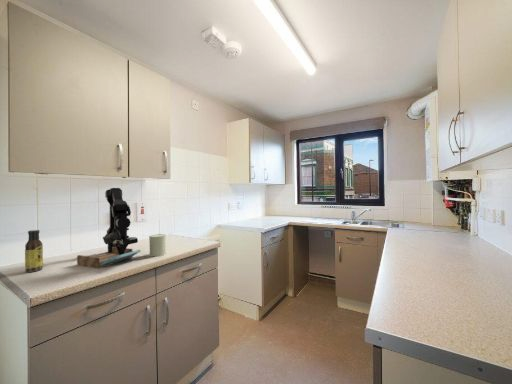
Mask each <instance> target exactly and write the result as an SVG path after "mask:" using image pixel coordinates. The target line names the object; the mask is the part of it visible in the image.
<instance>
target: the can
mask: <svg viewBox="0 0 512 384" xmlns="http://www.w3.org/2000/svg"><path fill="white" fill-rule="evenodd" d="M148 241H149V257H152V256H156V257H162V256H165V255H166V254H167V251H166V250H167V249H166V247H167V245H166V234H164V233H156V234H151V235H149V240H148ZM164 254H165V255H164ZM161 255H162V256H161Z"/></svg>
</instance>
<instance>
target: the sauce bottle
mask: <svg viewBox="0 0 512 384" xmlns="http://www.w3.org/2000/svg"><path fill="white" fill-rule="evenodd" d="M27 235H28V240H27V242H26V243H25V250H24V266H25V267H24V269H25V271H24V272H25V273H34V272H38V271H41V270H43V266H44V262H43V261H44V256H43V253H44V252H43V251H44V249H43V242H42V241H41V240H40V229H31V230H30V229H29V230H28V231H27Z"/></svg>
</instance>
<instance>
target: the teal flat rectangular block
mask: <svg viewBox="0 0 512 384" xmlns="http://www.w3.org/2000/svg"><path fill="white" fill-rule="evenodd" d="M139 253H141V249H137V250H133V252H129V253H126V254H122V255H119V256H115V257H111V258H109V259H107V260H106V261H104V262H102V263H101V264H100V265H101V266H102V265H106V264H109V263H112V262H116V261H119V260H122V259H126V258H129V257H132V256H136V255H137V254H139ZM126 260H127V259H126Z"/></svg>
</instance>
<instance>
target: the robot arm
mask: <svg viewBox="0 0 512 384" xmlns="http://www.w3.org/2000/svg"><path fill="white" fill-rule="evenodd" d="M104 196H105V198H106V201H107V202H108V204H109V227H108V228H107V230H106V234H105V235H104V236H103V237H102V239H103V243H104V244H105V245H107V251H106V252H105V253H104V254H107V253H111V252H112V247H116V248H117V250H118V253H119V255H122V254H124V252H125V250H126V248H128V246H129V245H132V244H137V243H138V242H139V241H138V240H139V239H138V238H137V237H136V236H129V235H128V231H129V230H130V228H129V227H130V225H131V220H130V219H129V218H128V217H130V216H131V214H132V210H131V207H130V205H129V204H128V202H127V201H125V200H124V199H123V190H122V189H121V188H120V187H111V188H109V189H107V190H106V191H105V193H104Z"/></svg>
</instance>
